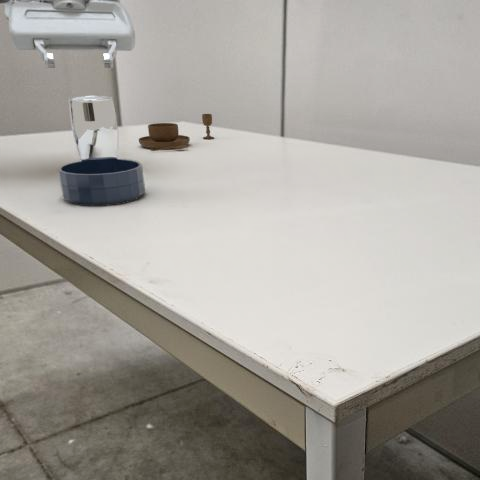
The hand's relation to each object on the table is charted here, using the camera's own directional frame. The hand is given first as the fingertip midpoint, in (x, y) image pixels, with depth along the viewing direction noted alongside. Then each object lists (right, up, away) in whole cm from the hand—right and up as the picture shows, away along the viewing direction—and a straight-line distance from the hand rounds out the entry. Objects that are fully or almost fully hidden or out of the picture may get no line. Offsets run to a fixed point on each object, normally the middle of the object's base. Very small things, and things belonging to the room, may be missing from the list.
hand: (80, 65), depth 105 cm
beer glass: (+5, -22, -2) cm, 23 cm away
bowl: (+5, -23, -2) cm, 23 cm away
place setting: (+7, 0, +46) cm, 46 cm away
